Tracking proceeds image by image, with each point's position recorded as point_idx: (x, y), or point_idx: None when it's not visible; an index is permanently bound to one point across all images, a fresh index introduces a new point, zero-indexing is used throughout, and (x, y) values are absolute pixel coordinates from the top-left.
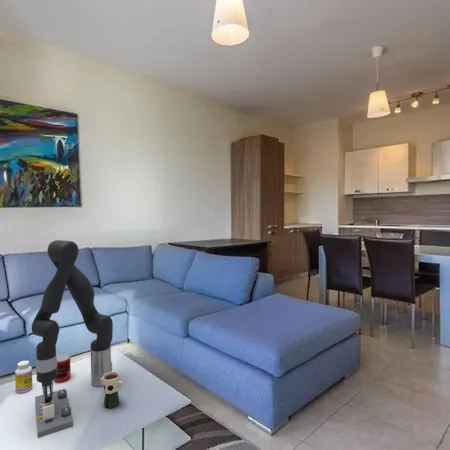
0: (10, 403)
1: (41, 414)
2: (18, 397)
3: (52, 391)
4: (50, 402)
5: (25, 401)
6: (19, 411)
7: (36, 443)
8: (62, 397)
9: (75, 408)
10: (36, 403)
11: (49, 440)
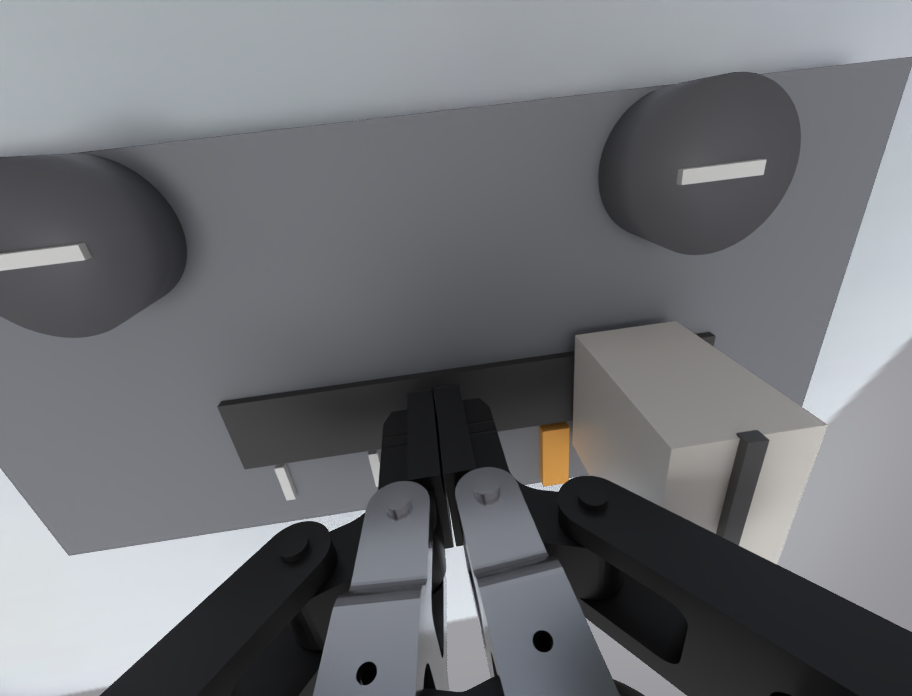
0: (116, 657)
1: None
2: (10, 633)
3: (588, 632)
4: (678, 490)
5: (97, 577)
6: None
7: (815, 412)
8: (174, 235)
9: (436, 9)
10: (234, 522)
11: (866, 320)
